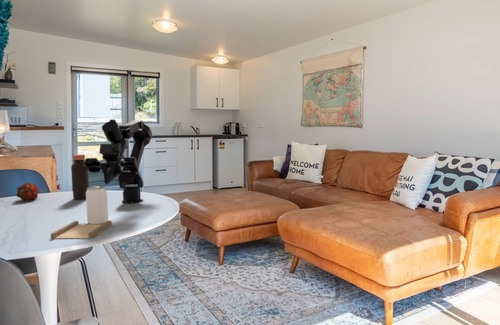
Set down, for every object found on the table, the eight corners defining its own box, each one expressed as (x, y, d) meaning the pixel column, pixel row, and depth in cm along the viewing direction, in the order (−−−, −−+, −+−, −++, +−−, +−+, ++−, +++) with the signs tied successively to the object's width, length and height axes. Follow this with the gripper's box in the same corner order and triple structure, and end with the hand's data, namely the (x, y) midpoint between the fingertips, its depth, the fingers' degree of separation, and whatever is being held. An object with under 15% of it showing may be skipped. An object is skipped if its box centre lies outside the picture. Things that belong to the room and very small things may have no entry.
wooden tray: (75, 225, 118) (75, 221, 118) (111, 225, 117) (111, 220, 117) (51, 238, 104) (50, 233, 104) (91, 238, 103) (91, 233, 103)
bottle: (80, 196, 168) (78, 154, 166) (93, 197, 166) (90, 154, 164) (69, 199, 161) (66, 155, 159) (82, 200, 159) (79, 155, 157)
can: (112, 220, 123) (110, 186, 122) (98, 225, 117) (96, 189, 116) (97, 219, 125) (95, 185, 124) (83, 224, 119) (80, 188, 118)
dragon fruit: (25, 206, 156) (28, 205, 167) (43, 193, 160) (44, 192, 170) (11, 191, 154) (14, 191, 165) (28, 178, 158) (31, 179, 168)
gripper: (84, 136, 131) (70, 169, 122) (134, 135, 131) (125, 169, 121) (95, 155, 140) (83, 188, 130) (142, 155, 140) (134, 187, 130)
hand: (106, 183), depth 128 cm, fingers closed
